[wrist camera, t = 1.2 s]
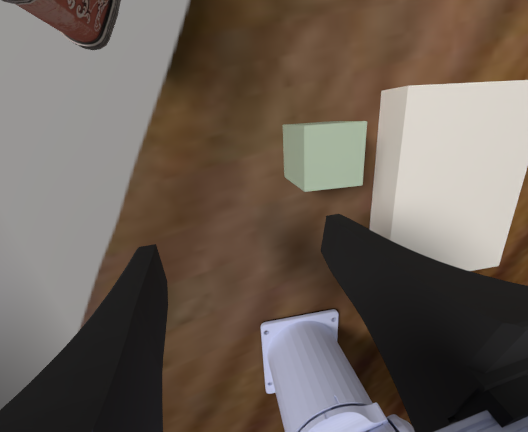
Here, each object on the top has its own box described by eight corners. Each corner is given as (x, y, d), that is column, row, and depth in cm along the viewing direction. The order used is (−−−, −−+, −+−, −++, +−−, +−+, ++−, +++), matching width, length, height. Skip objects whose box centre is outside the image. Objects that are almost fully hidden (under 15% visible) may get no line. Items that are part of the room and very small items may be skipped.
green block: (330, 172, 22) (362, 185, 17) (284, 176, 21) (304, 191, 17) (332, 121, 20) (367, 121, 16) (282, 124, 20) (304, 125, 15)
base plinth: (470, 251, 28) (498, 265, 25) (366, 268, 26) (384, 286, 23) (510, 84, 22) (552, 78, 19) (381, 90, 20) (408, 85, 18)
